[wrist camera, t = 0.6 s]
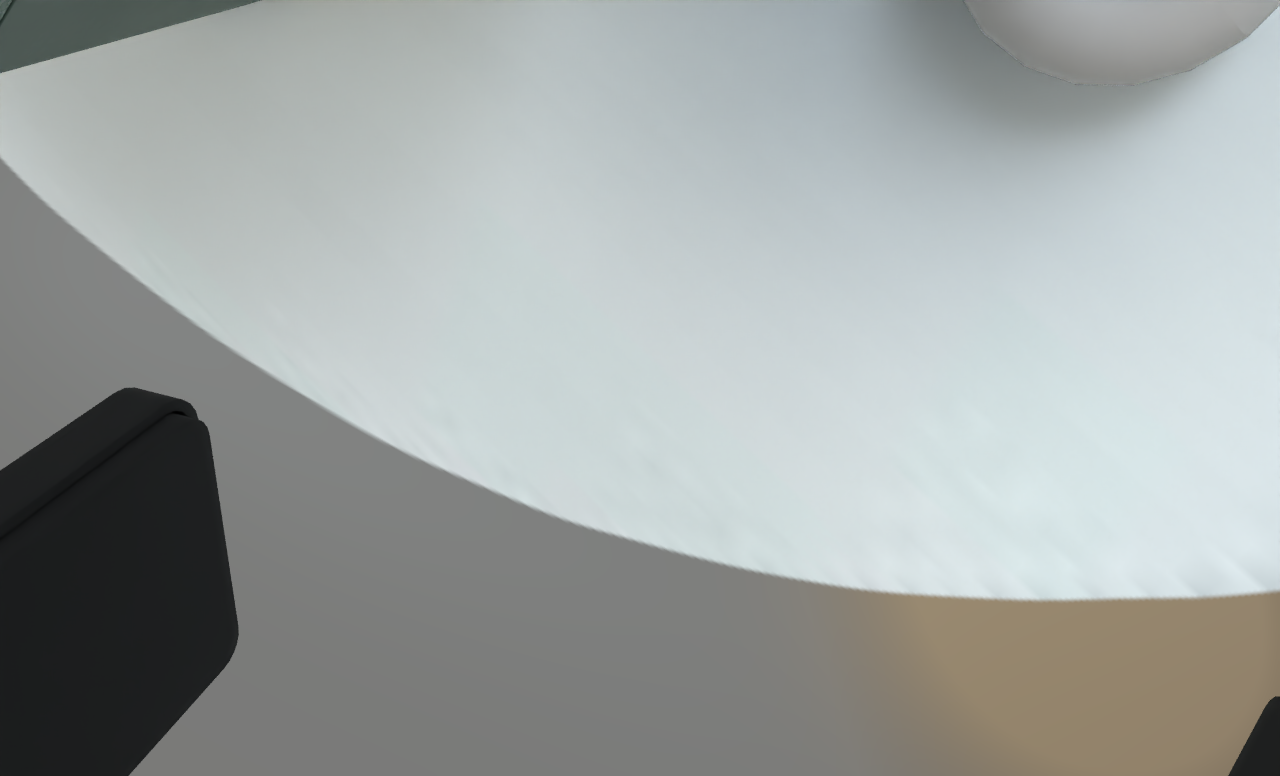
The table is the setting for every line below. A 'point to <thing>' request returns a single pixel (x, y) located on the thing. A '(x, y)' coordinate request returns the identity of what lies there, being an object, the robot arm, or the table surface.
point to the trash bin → (88, 24)
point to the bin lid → (4, 7)
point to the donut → (1117, 35)
